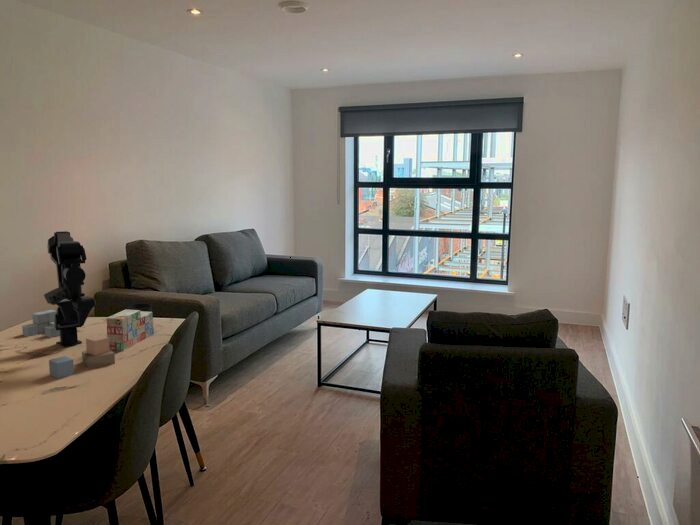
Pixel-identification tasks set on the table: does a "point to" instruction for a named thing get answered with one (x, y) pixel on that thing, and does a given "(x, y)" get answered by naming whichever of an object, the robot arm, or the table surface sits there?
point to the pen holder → (140, 307)
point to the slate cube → (61, 367)
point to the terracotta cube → (97, 345)
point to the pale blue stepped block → (42, 324)
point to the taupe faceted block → (98, 359)
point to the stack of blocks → (128, 328)
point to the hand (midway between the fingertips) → (74, 323)
